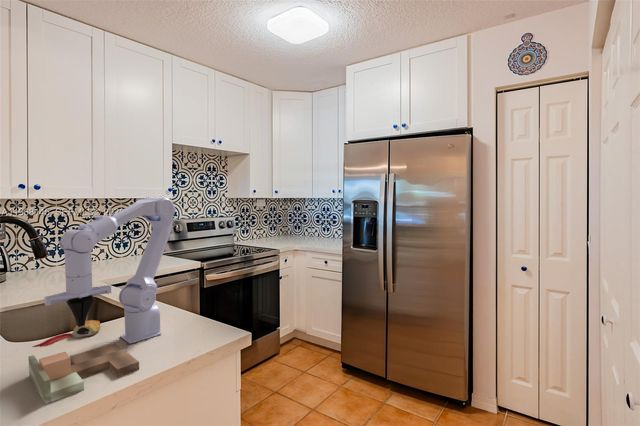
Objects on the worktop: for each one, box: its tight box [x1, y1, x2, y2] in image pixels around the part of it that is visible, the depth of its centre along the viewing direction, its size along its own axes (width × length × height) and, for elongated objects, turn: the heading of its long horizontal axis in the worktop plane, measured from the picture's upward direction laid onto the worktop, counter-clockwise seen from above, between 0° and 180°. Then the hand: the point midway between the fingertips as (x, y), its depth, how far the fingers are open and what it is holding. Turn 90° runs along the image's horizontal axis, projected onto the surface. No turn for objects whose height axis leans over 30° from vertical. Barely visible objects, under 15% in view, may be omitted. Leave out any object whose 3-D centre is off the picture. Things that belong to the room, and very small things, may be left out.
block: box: [38, 351, 71, 381], centre depth 81 cm, size 5×4×4 cm
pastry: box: [72, 319, 101, 339], centre depth 110 cm, size 9×7×4 cm
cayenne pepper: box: [31, 332, 73, 348], centre depth 103 cm, size 12×5×2 cm, turn 133°
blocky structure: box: [27, 342, 140, 405], centre depth 85 cm, size 19×16×5 cm
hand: (80, 325), depth 92 cm, fingers closed
